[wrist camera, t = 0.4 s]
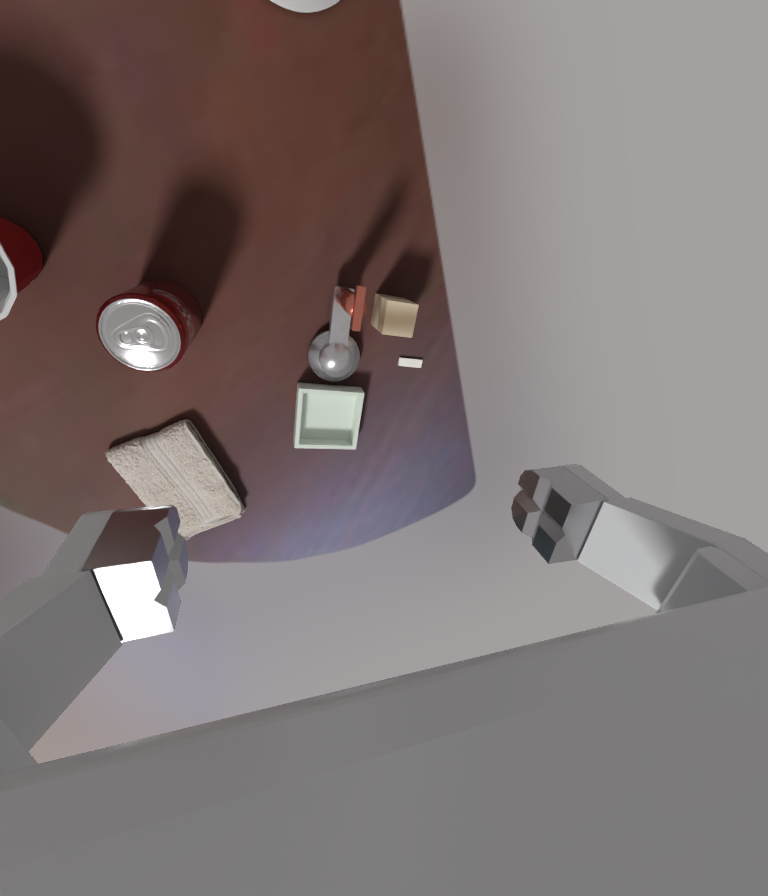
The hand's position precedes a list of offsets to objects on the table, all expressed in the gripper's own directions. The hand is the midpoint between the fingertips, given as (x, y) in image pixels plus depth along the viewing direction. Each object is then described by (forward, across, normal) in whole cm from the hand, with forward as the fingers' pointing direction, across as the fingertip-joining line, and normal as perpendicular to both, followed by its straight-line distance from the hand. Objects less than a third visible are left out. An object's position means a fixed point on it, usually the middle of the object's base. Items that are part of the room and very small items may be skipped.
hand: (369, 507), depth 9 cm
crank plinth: (+45, -6, +9) cm, 46 cm away
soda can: (+45, +14, +4) cm, 47 cm away
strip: (+45, -17, +10) cm, 49 cm away
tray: (+45, -5, +18) cm, 48 cm away
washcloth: (+45, +16, +28) cm, 56 cm away
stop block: (+45, -13, +3) cm, 47 cm away
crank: (+43, -6, +5) cm, 44 cm away
